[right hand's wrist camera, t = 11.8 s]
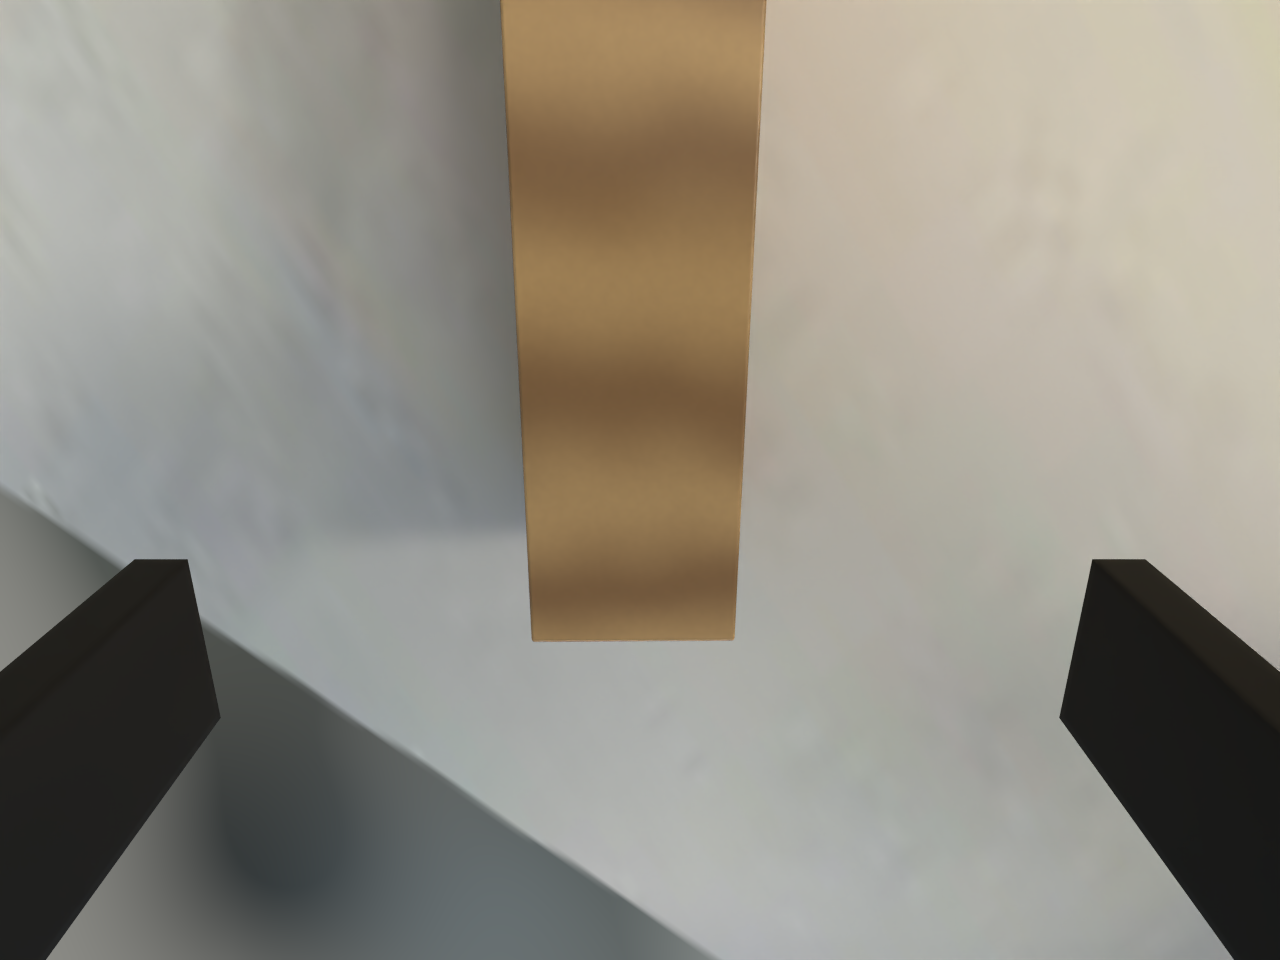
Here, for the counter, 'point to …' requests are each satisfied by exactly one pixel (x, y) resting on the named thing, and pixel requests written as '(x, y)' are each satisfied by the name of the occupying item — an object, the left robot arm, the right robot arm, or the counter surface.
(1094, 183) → the counter surface
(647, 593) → the beam
